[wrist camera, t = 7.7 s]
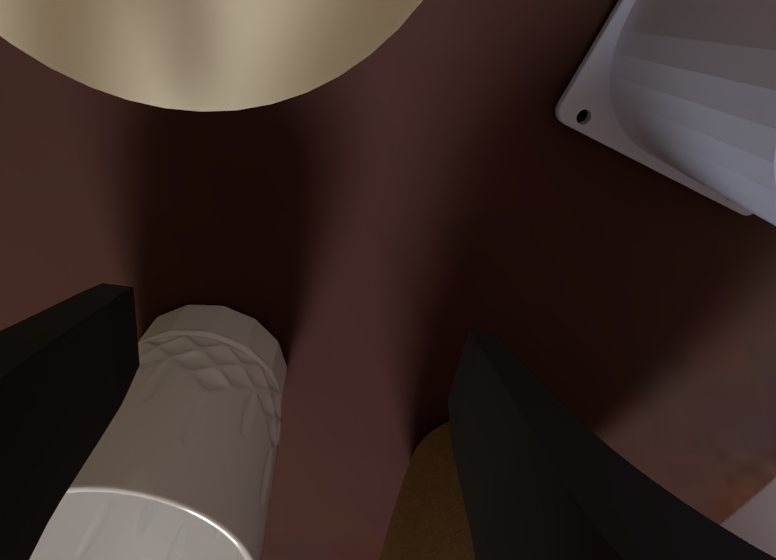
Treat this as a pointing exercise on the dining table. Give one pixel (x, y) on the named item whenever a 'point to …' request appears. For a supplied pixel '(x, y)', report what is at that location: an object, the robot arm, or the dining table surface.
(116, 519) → the white cup
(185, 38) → the lid
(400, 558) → the plant pot
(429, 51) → the dining table surface
